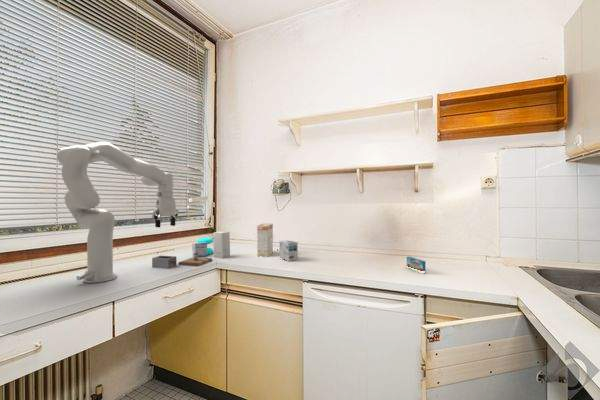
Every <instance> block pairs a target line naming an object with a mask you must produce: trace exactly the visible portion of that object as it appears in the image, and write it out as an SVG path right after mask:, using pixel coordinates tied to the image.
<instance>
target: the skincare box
mask: <svg viewBox="0 0 600 400" xmlns="http://www.w3.org/2000/svg"><path fill="white" fill-rule="evenodd" d="M212 236H213V238H212V239H213V242H212V243H213V258H218V259H225V257H227V258H230V257H231V243H230V242H231V239H230V238H231V237H230V231H222V230H220V231H216V232H213V233H212ZM229 256H230V257H229Z"/></svg>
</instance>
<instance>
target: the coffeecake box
mask: <svg viewBox="0 0 600 400" xmlns="http://www.w3.org/2000/svg"><path fill="white" fill-rule="evenodd" d="M273 225H274V224H273V223H267V222H266V223H261V224H258V225H257V226H256V234H257V235H256V239H257V241H256V243H257V246H256V250H257V253H256V255H257V257H260V256H268V255H269V256H270V255H271V254H273V252H274V248H273V247H274V235H273V234H274V229H273V228H274V226H273ZM269 256H268V257H269Z"/></svg>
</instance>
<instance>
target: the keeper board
mask: <svg viewBox="0 0 600 400" xmlns="http://www.w3.org/2000/svg"><path fill="white" fill-rule="evenodd" d="M212 261H213V258H212V257H198V253H194V257H190V258H187V259H184V260H181V261H178V265H179V266H188V267H200V266H202V265H205V264H207V263H210V262H212Z"/></svg>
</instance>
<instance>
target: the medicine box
mask: <svg viewBox="0 0 600 400" xmlns="http://www.w3.org/2000/svg"><path fill="white" fill-rule="evenodd" d="M191 245H192V251H191V253H192V257H191V258H193V257H194V253H198V257H200V258H206V257H208V255H207V248H208V244H207V243H206V242H200V243H197V242H194V243H192V244H191Z"/></svg>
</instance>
